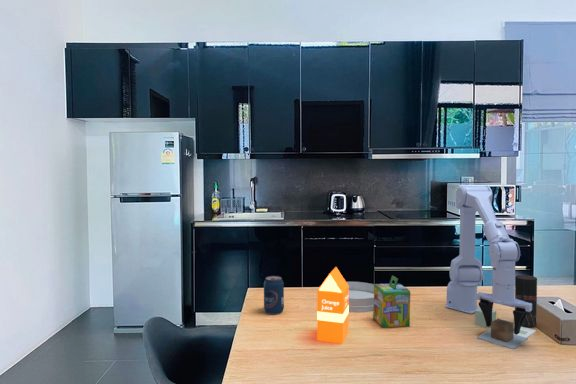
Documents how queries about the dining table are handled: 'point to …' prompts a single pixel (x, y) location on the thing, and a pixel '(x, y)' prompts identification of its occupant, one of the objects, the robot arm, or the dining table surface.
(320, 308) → the orange juice
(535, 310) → the deodorant
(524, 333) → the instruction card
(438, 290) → the dining table surface
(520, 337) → the baseplate
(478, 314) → the block sage
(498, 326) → the block walnut
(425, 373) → the dining table surface
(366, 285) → the dish
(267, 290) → the soda can
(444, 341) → the dining table surface
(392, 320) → the chalk box
